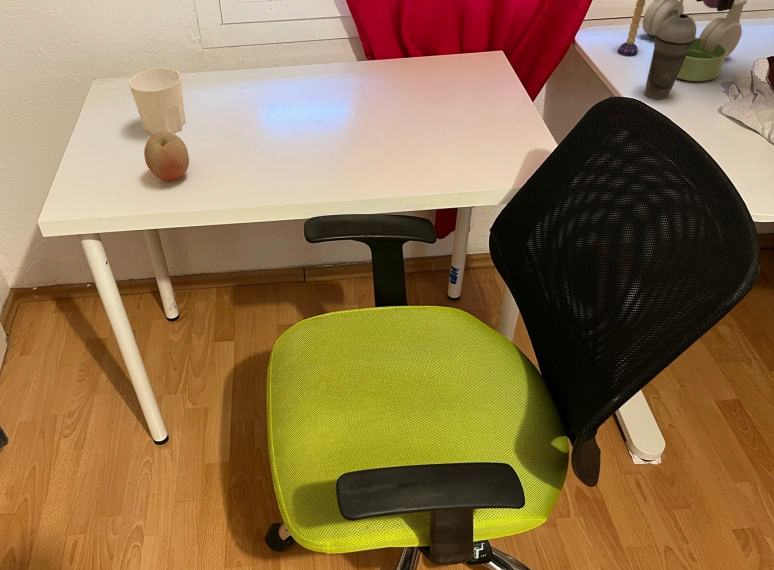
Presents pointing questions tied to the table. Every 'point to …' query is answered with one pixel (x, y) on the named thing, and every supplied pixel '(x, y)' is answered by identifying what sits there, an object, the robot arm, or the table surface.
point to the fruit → (166, 156)
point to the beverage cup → (669, 53)
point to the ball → (711, 3)
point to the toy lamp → (632, 32)
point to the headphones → (713, 33)
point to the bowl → (702, 63)
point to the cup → (159, 99)
